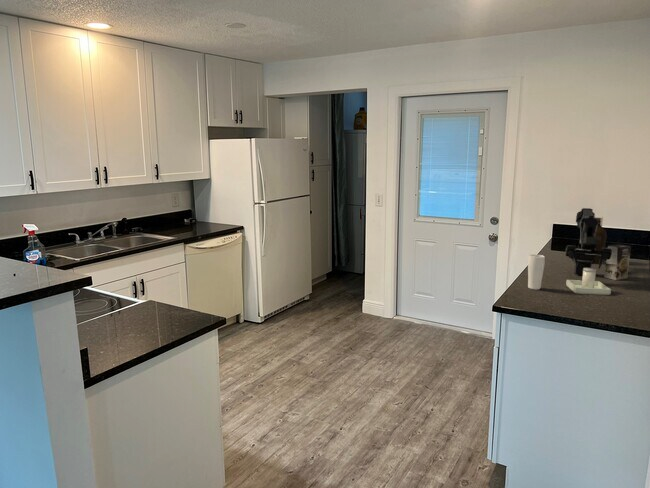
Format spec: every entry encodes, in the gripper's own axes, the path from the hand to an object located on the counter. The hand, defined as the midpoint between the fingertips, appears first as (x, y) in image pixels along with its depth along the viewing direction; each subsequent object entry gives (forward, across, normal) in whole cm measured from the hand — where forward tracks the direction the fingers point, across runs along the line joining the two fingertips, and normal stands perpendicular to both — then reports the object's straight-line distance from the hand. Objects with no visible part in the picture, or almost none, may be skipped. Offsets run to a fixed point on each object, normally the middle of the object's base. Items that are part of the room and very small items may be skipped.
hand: (587, 267), depth 227 cm
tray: (+12, 0, +1) cm, 12 cm away
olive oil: (-34, +8, +47) cm, 59 cm away
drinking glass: (+17, -22, -4) cm, 28 cm away
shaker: (+11, 0, 0) cm, 11 cm away
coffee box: (-10, +15, +22) cm, 28 cm away
